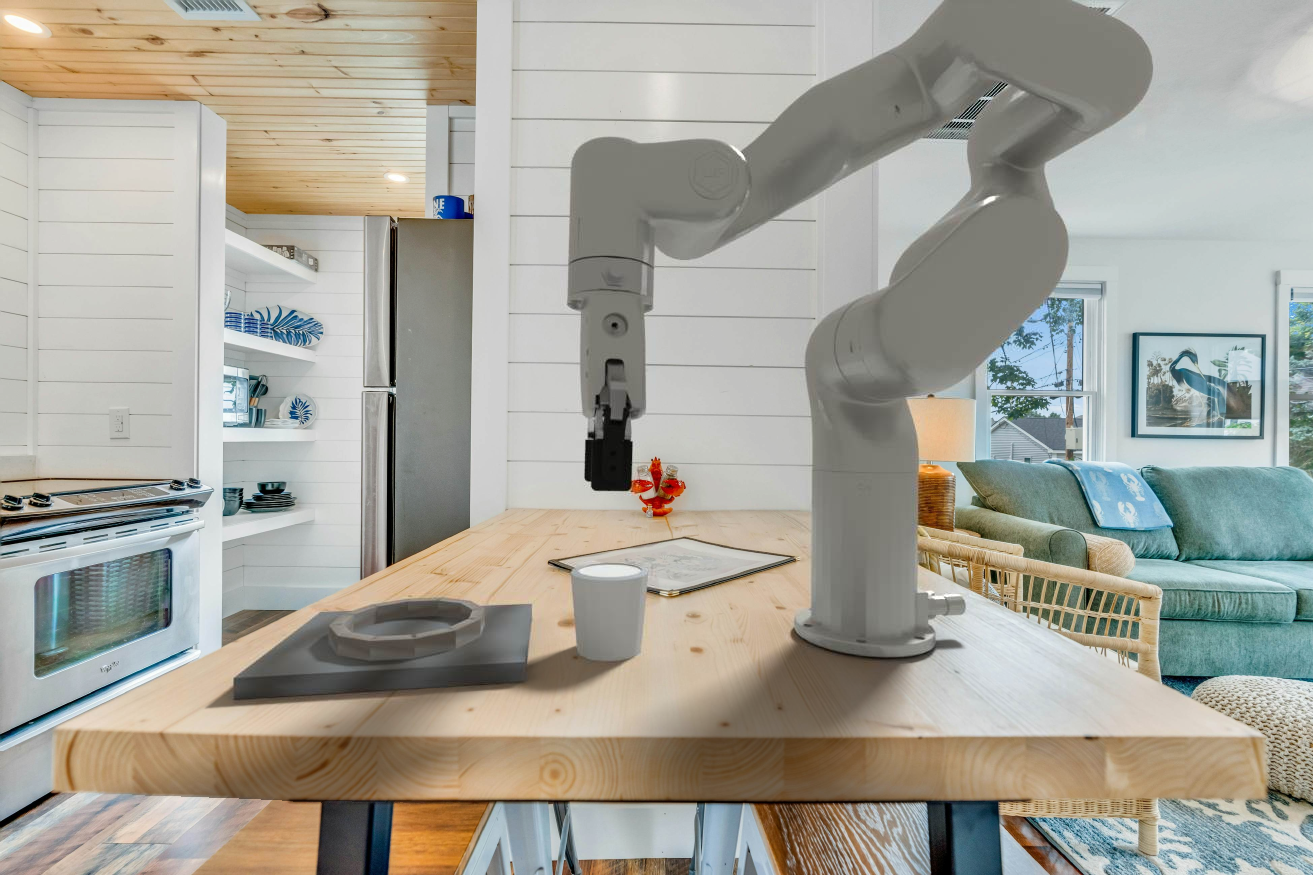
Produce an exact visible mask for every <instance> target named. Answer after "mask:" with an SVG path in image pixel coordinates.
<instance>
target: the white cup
mask: <svg viewBox="0 0 1313 875" xmlns="http://www.w3.org/2000/svg"><path fill="white" fill-rule="evenodd" d="M649 572H650V571H649V569H648V568H646V567H644V566H641V565H637V564H633V563H622V562H621V563H620V562H603V563H602V562H601V563H589V564H587V565H586V564H585V565H580V566H577V567H574V568H572V569H571V572H570V580H571V581H570V582H571V593H572V594H571V595H572V603H573V606H572V607H573V617H574V630H575V639H576V640H575V642H576V652H577V653H578V654H579V655H580V656H581V657H582V658H585V659H588V660H591V661H597V662H618V661H624V660H628V659H629V660H630V659H631V658H634V657H635V658H636V656H638V655H639V654H641V652H642V644H643V643H642V641H643V633H644V632H643V631H644V623H645V622H644V620H645V613H646V612H645V611H646V602H647V590H648V582H649V581H648V580H649Z"/></svg>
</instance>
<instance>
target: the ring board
mask: <svg viewBox="0 0 1313 875" xmlns="http://www.w3.org/2000/svg"><path fill="white" fill-rule="evenodd" d="M532 614H533V603H516V604H493V605H492V604H490V605H488V604H487V605H486V604H485V605H480V604H477V603H476V602H473V601H472V600H466V599H459V598H450V597H443V596H441V597H420V598H419V597H418V598H416V597H414V598H411V597H410V598H403V599H397V600H391V601H386V602H385V601H384V602H379V603H372V604H369V605H366V606H363V607H359V608H356V609H354V610H339V611H337V610H336V611H320V612H319V613H318V614H315V615H314V616H313V617H312V618H311V619H309V620H308V621H307V622H305V623H304V624H303V625H301V626H300V627H299V628H297V629H296V630H295V631H293V632H292V633H291V634H290V635H288V636H287V637H286V638H284V639H283V640H282V641H280V642H279V643H277V645H275V646H274V647H272V648H271V649H270V650H268V651H267V652H266V653H264V654H263V655H262V656H261V657H259V658H258V659H256V660H255V661H253V662H252V663H251V664H250V665H248V666H247V667H246V668H244V670H242V671H241V672H239V673H238V674H237V675H235V676H234V677H233V684H232V686H233V689H232V691H233V693H232V697H233V698H232V699H233V700H246V699H260V698H278V697H280V698H281V697H293V696H294V697H295V696H296V697H297V696H309V695H311V696H312V695H325V694H328V695H329V694H343V693H361V692H363V693H364V692H375V691H376V692H377V691H392V690H410V689H424V688H426V689H427V688H440V687H456V686H460V687H461V686H474V685H475V686H476V685H489V684H507V683H509V684H510V683H523V682H526V676H527V665H528V658H529V649H530V639H531V629H532V621H533V615H532Z"/></svg>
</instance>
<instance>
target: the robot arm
mask: <svg viewBox="0 0 1313 875" xmlns="http://www.w3.org/2000/svg"><path fill="white" fill-rule="evenodd" d="M1150 50H1151V49H1150V48H1149V46H1148V44H1147V43H1146V41H1145V40H1144V37H1142V36H1141V35H1140V34H1139V32H1137V31H1136V29H1134V28H1133V27H1132V26H1130V25H1128V24H1127V23H1125V22H1124V21H1122V20H1120V19H1118V18H1116V17H1113V16H1112V15H1110V14H1107V13H1104V12H1102V11H1100V10H1098V9H1095V8H1092V7H1091V6H1090V7H1089V6H1086V5H1084V4H1081V3H1080V2H1076V1H1074V0H942V2H941V3H940V4H939V5H938V6H937V7H936V9H934V11H933V12H932V13H931V14H930V15H929V17H927V19H926V20H924V22H923V23H922V24H921V25H920V26H919V27H918V29H917V30H916V31H915V32H914V33H913V34H912V35H911V36H910V37H909V38H907V39H906V40H905V41H903V42H902V43H900V44H898V45H897V46H895V47H893V48H890V49H889V50H886V51H884V52H882V53H880V54H878V55H877V56H875V57H872V58H871V59H869V60H866V61H864V62H863V63H861V64H857V65H856V66H853V67H852V68H850V69H847V70H845V71H843V72H840V73H838V74H837V75H834V76H833V77H831V78H828V79H826V80H824V81H822V82H819V83H818V84H815V85H814V86H812V87H810V88H809V89H808V90H807V91H805V92H804V93H802V95H800V96H799V97H798V98H797V99H795V100H794V101H793V102H792V103H791V104H789V106H788V107H786V109H784V110H783V111H782V112H781V114H780V115H778V116H777V118H776V119H775V120H773V122H771V124H770V125H768V127H767V128H766V129H765V130H764V131H763V132H761V134H759V136H757V137H756V138H755V139H754V140H753V141H751V142H750V143H749V144H747V146H746V147H745V148H743V149H742V150H740V151H739V150H738V149H737V148H735V147H734V146H733V145H731V144H729V143H727V142H724V141H721V140H718V139H713V138H692V139H691V138H690V139H689V138H688V139H679V140H671V141H669V140H668V141H659V142H637V141H635V140H632V139H629V138H625V137H621V136H620V137H619V136H601V137H600V136H599V137H595V138H592V139H589V140H587V141H585V142H584V143H582V144H581V145H580V146H578V148H577V149H576V150H575V152H574V154H573V156H572V159H571V164H570V165H571V167H570V181H569V182H570V186H569V228H568V229H569V233H568V257H567V258H568V262H567V265H568V266H567V267H568V268H567V300H566V301H567V302H566V305H567V307H569V308H570V309H571V310H574V311H577V312H580V330H579V331H580V332H579V333H580V337H579V338H580V341H579V342H580V344H579V347H580V348H579V350H580V351H579V363H580V364H579V367H580V368H579V369H580V371H579V372H580V373H579V376H580V378H579V379H580V396H581V397H580V398H581V399H580V401H581V409H582V410H581V411H582V416H584V417H585V419H588V420H587V421H588V422H587V439H584V472H583V473H584V477H583V478H584V480H585V481H586V482H589V483H590V488H591V490H593V491H595V492H629V491H630V490H632V488H633V487H632V486H633V482H632V481H633V452H634V451H633V450H634V449H633V447H634V441H633V440H632V431H633V430H632V422H631V421H633V420H638V419H640V418H642V417H643V416H644V415H645V413H646V410H647V385H646V384H647V382H646V381H647V380H646V376H647V375H646V374H647V371H646V370H647V369H646V366H647V365H646V364H647V363H646V356H647V355H646V354H647V353H646V326H645V325H646V322H645V314H646V313H650V312H651V311H653V309H654V288H655V287H654V284H655V283H654V281H655V280H654V279H655V277H654V276H655V255H656V254H655V253H656V252H655V251H656V250H655V249H656V248H657V249H658V251H659V252H661V253H662V254H663V255H665V256H667V257H668V258H672V259H673V260H674V259H675V260H679V261H692V260H696V259H699V258H702V257H704V256H706V255H708V254H712V253H713V252H714V251H717V250H719V249H721V248H723V247H725V246H726V245H728V244H730V243H733V242H734V241H737V240H738V239H740V238H742V237H744V236H746V235H748V234H749V233H751V232H754V231H755V230H757V229H759V228H761V227H762V226H764V225H766V224H767V223H768V222H770V221H772V220H774V219H775V218H777V217H779V216H780V215H783V214H784V213H786V212H787V211H789V210H791V209H793V208H794V207H796V206H798V205H800V204H802V203H804V202H805V201H808V200H809V199H811V198H814V197H816V196H817V195H819V194H820V193H822V192H824V191H826V190H828V189H829V188H831V187H832V186H834V185H836V183H837V182H840V181H841V180H844V179H845V178H847V177H848V176H851V175H853V174H854V173H856V172H857V171H860V170H862V169H864V168H866V167H868V166H869V165H872V164H874V163H876V162H877V161H879V160H881V159H883V158H885V157H887V156H889V155H891V154H893V153H895V152H897V151H899V150H901V149H902V148H905V147H907V146H909V145H910V144H913V143H914V142H917V141H918V140H921V139H923V138H925V137H927V136H928V135H930V134H932V133H934V132H936V131H938V130H939V129H941V128H943V127H945V126H946V125H947V124H949V123H950V122H952V121H953V120H954V119H956V118H957V117H958V116H960V115H961V114H962V113H963V112H965V111H966V110H967V109H968V108H969V107H971V106H972V105H974V104H975V103H976V102H977V101H978V100H980V99H982V98H983V96H985V95H986V94H987V93H988V92H990V91H992V89H993V88H995V87H996V86H997V85H999V84H1000V83H1004V84H1006V85H1007V86H1005V87H1004V88H1003V89H1001V91H1000V92H998V93H997V94H996V95H994V96H993V97H992V98H991V99H990V100H989V101H988V102H987V103H986V104H985V105H984V107H983V108H982V109H981V110H980V112H979V113H978V114H977V116H976V117H975V120H974V122H973V124H972V126H971V128H970V131H969V134H968V138H967V142H966V143H967V144H966V146H967V147H966V155H967V164H968V170H969V174H970V189H969V190H968V191H967V193H965V195H964V196H963V197H962V198H961V199H959V201H958V202H957V203H956V204H955V206H953V207H952V208H950V210H949V211H948V212H946V213H945V214H944V215H943V216H942V217H941V218H940V219H939V220H937V222H936V223H934V224H933V225H932V226H931V227H930V228H929V229H928V230H926V231H925V232H924V233H922V234H921V235H920V236H919V237H918V238H916V239H915V240H914V241H913V242H911V243H910V245H909V246H908V247H907V248H906V249H905V250H904V251H903V252H902V254H901V255H900V257H898V258H899V259H898V260H896V263H895V264H894V267H893V269H892V271H891V274H890V277H889V281H888V285H887V286H886V287H883V288H880V289H878V290H876V291H874V292H872V293H869V294H867V295H864V296H861V297H859V298H857V299H855V300H853V301H850V302H848V303H845V304H843V305H842V306H839V307H838V308H836V309H834V310H833V311H831V312H830V313H829V314H828V315H826V316H825V317H824V318H822V320H820V322H819V323H818V324H817V325H816V327H815V328H814V329H813V331H812V333H811V334H810V337H809V339H808V342H807V345H806V350H805V354H804V373H805V381H806V388H807V394H808V400H809V406H810V409H809V410H810V415H811V416H810V417H811V436H812V438H811V439H812V443H811V445H812V447H811V448H812V450H811V451H812V460H811V461H812V463H811V464H812V466H811V467H812V469H811V528H810V529H811V532H810V533H811V541H810V543H811V544H810V545H811V546H810V547H811V548H810V549H811V552H810V555H811V556H810V607H808V608H804V609H802V610H800V611H799V612H797V613H796V614H795V616H794V618H793V622H794V625H793V626H794V627H793V628H794V630H795V632H796V634H797V635H799V636H800V637H801V638H802V639H804V640H805V641H807V642H809V643H811V644H814V645H816V646H818V647H821V648H824V649H827V650H829V651H830V650H831V651H835V652H838V653H843V654H849V655H855V656H861V657H872V658H904V657H905V658H907V657H913V656H917V655H922V654H924V653H927V652H929V651H931V650H932V649H933V648H934V647H935V646H936V643H937V641H936V639H937V638H936V637H937V636H936V632H937V631H936V630H935V629H934V627H933V626H932V625H931V624H929V620H930V621H931V620H934V619H935V618H936V617H937V616H939V615H940V616H945V617H946V616H947V617H949V616H962V615H964V614H965V613H966V610H967V609H966V608H967V605H966V602H965V599H964V598H963V596H962V595H960V594H958V593H956V594H954V593H953V594H939V595H935V593H934V591H932V590H927V591H926V590H924V589H922V588H919V587H918V586H919V584H918V583H919V582H918V581H919V580H918V574H919V573H918V572H919V571H918V570H919V568H918V567H919V566H918V565H919V563H918V562H919V560H918V558H919V548H918V547H919V546H918V545H919V472H920V454H919V453H920V450H919V442H918V440H919V439H918V433H917V429H916V425H915V421H914V419H913V415H912V413H911V409H910V406H909V403H908V400H907V398H914V397H921V396H927V395H932V394H936V393H939V392H942V391H945V390H947V389H950V388H952V387H953V386H956V385H957V384H959V383H961V381H963V380H964V379H966V378H967V377H968V376H969V375H971V374H972V373H973V372H974V371H976V370H977V369H978V368H979V367H980V366H981V365H982V364H983V363H984V362H985V361H987V359H989V357H990V356H991V355H993V353H995V352H996V351H997V350H998V349H999V348H1000V347H1001V346H1002V345H1003V344H1004V343H1005V342H1006V341H1007V340H1008V339H1009V338H1010V337H1011V336H1012V335H1013V334H1014V333H1015V332H1016V331H1017V330H1018V329H1019V328H1020V327H1021V326H1022V325H1023V324H1024V323H1025V322H1026V321H1027V320H1028V319H1029V318H1030V317H1031V316H1032V315H1033V314H1034V313H1035V312H1036V311H1037V310H1038V309H1039V308H1040V307H1041V306H1042V305H1043V304H1044V303H1045V301H1047V300H1048V298H1049V297H1050V296H1051V295H1052V293H1053V292H1054V291H1055V290H1056V287H1057V286H1058V284H1059V283H1060V281H1061V279H1062V277H1063V274H1064V271H1065V269H1066V266H1067V263H1068V257H1069V252H1070V251H1069V247H1070V245H1069V242H1070V241H1069V235H1068V234H1069V233H1068V230H1067V226H1066V224H1065V221H1064V219H1063V218H1062V216H1061V214H1060V212H1058V211H1057V210H1056V207H1055V204H1054V200H1053V198H1052V196H1051V194H1050V188H1049V186H1048V182H1047V178H1046V174H1045V165H1046V163H1048V162H1050V161H1051V160H1053V159H1055V158H1057V157H1058V156H1060V155H1062V154H1063V153H1065V152H1067V151H1069V150H1071V149H1072V148H1074V147H1076V146H1078V145H1080V144H1082V143H1083V142H1085V141H1087V140H1089V139H1091V138H1093V137H1095V136H1096V135H1099V133H1102V132H1103V131H1105V130H1107V129H1109V128H1110V127H1112V126H1114V125H1115V124H1117V123H1118V122H1120V121H1121V120H1123V119H1124V118H1125V117H1127V116H1128V115H1129V114H1131V113H1132V112H1133V111H1134V109H1135V108H1137V106H1138V105H1139V104H1140V103H1141V102H1142V100H1143V99H1144V97H1145V96H1146V94H1147V92H1148V91H1149V89H1150V88H1149V87H1150V85H1151V82H1152V80H1153V73H1154V65H1153V64H1154V63H1153V58H1152V57H1153V56H1152V53H1151V51H1150Z"/></svg>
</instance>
